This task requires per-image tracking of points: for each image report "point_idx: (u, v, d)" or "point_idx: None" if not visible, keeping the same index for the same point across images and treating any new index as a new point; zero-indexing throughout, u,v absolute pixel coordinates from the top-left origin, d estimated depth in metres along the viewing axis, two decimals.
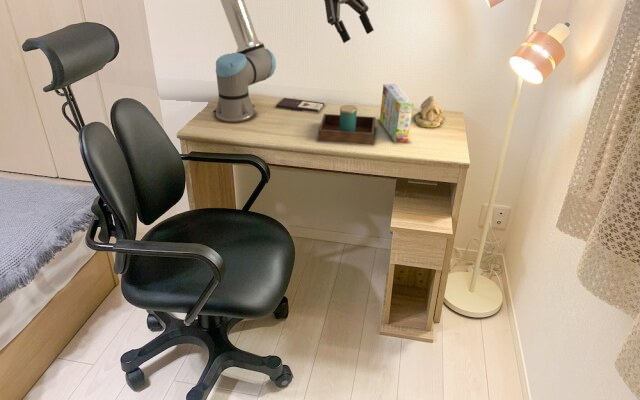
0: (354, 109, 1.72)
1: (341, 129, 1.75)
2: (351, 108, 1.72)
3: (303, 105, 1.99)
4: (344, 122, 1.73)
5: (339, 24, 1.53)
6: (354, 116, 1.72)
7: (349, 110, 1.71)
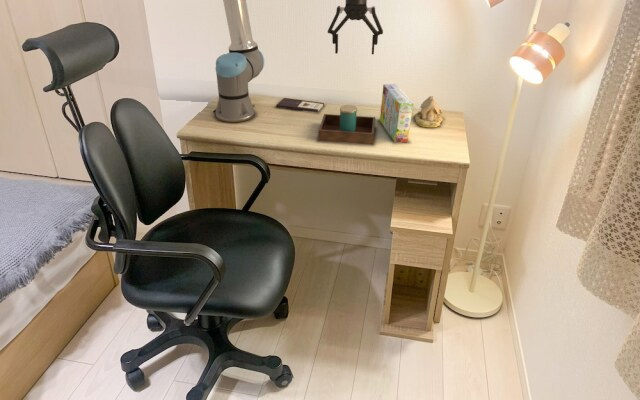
0: (354, 109, 1.72)
1: (341, 129, 1.75)
2: (351, 108, 1.72)
3: (303, 105, 1.99)
4: (344, 122, 1.73)
5: (334, 37, 1.77)
6: (354, 116, 1.72)
7: (349, 110, 1.71)
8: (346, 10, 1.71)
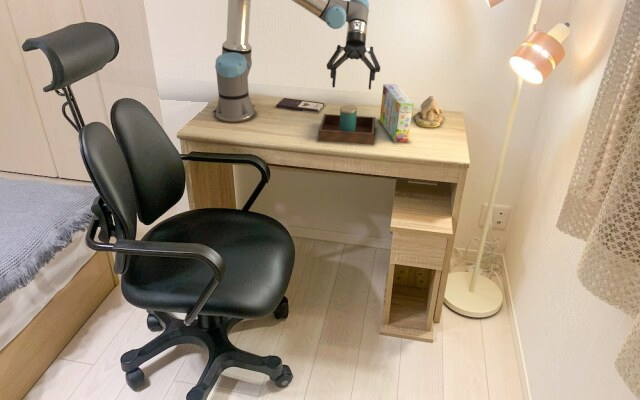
0: (354, 109, 1.72)
1: (341, 129, 1.75)
2: (351, 108, 1.72)
3: (303, 105, 1.99)
4: (344, 122, 1.73)
5: (332, 71, 1.80)
6: (354, 116, 1.72)
7: (349, 110, 1.71)
8: (346, 48, 1.82)
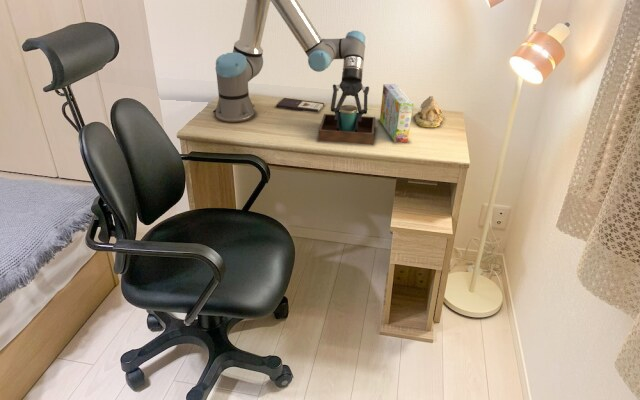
0: (354, 109, 1.72)
1: (341, 129, 1.75)
2: (351, 108, 1.72)
3: (303, 105, 1.99)
4: (344, 122, 1.73)
5: (336, 114, 1.74)
6: (354, 116, 1.72)
7: (349, 110, 1.71)
8: (342, 84, 1.76)
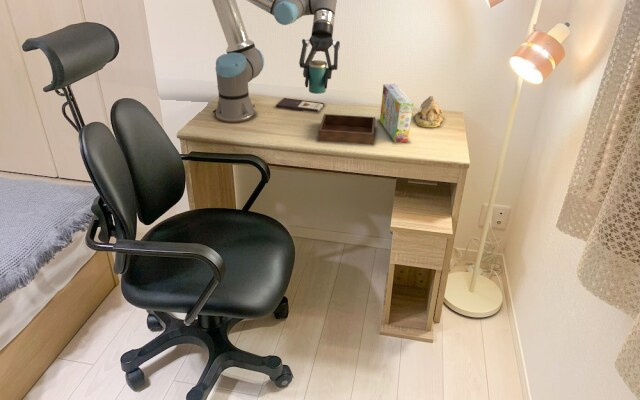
0: (323, 64, 1.64)
1: (310, 85, 1.68)
2: (320, 63, 1.65)
3: (303, 105, 1.99)
4: (313, 77, 1.66)
5: (305, 69, 1.67)
6: (323, 71, 1.65)
7: (318, 64, 1.64)
8: (311, 39, 1.69)
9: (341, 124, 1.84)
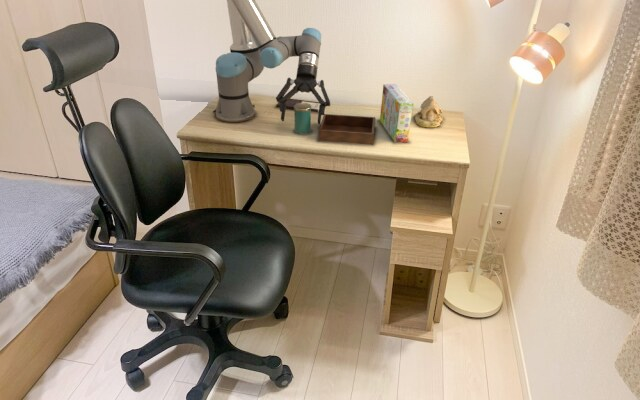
0: (308, 107, 1.73)
1: (296, 127, 1.77)
2: (305, 106, 1.74)
3: None
4: (298, 120, 1.75)
5: (281, 104, 1.77)
6: (308, 114, 1.74)
7: (302, 108, 1.73)
8: (296, 81, 1.78)
9: (341, 124, 1.84)
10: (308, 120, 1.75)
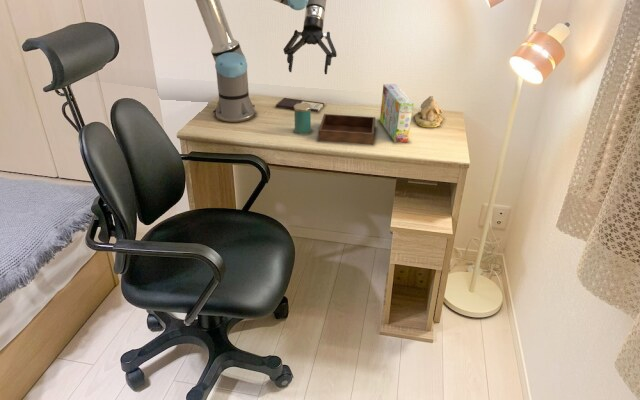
0: (308, 107, 1.73)
1: (296, 127, 1.77)
2: (305, 106, 1.74)
3: None
4: (298, 120, 1.75)
5: (289, 55, 1.81)
6: (308, 114, 1.74)
7: (302, 108, 1.73)
8: (303, 33, 1.83)
9: (341, 124, 1.84)
10: (308, 120, 1.75)
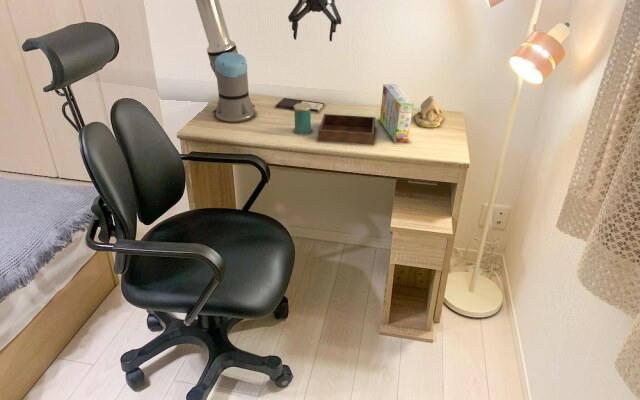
0: (308, 107, 1.73)
1: (296, 127, 1.77)
2: (305, 106, 1.74)
3: None
4: (298, 120, 1.75)
5: (293, 23, 1.81)
6: (308, 114, 1.74)
7: (302, 108, 1.73)
8: (308, 0, 1.82)
9: (341, 124, 1.84)
10: (308, 120, 1.75)
